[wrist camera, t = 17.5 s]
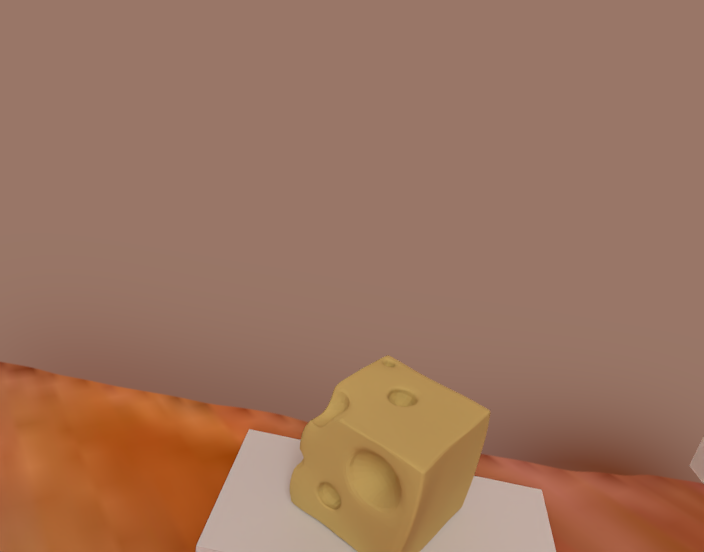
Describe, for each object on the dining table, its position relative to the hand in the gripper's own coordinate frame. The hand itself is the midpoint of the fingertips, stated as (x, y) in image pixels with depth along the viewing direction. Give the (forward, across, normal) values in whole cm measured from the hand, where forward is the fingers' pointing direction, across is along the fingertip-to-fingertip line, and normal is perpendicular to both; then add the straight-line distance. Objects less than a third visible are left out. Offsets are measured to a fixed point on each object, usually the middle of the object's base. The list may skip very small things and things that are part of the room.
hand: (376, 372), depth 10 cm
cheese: (+27, +8, -29) cm, 40 cm away
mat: (+26, +8, -30) cm, 40 cm away
